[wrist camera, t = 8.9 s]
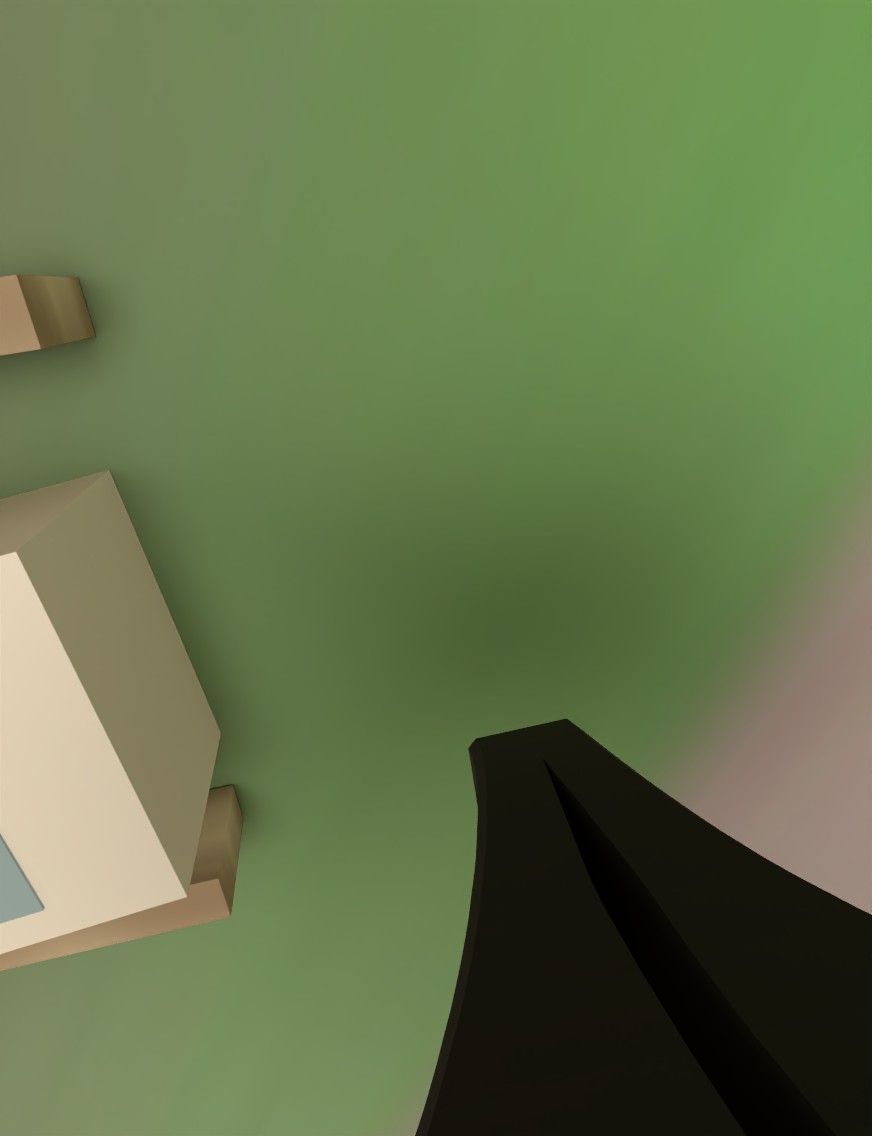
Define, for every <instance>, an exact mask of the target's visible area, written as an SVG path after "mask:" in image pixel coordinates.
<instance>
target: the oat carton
mask: <svg viewBox="0 0 872 1136" xmlns="http://www.w3.org/2000/svg"><path fill="white" fill-rule="evenodd" d="M220 736H221V732H220V730H219V727H218V725H217V723H216V720H215V718H214V716H213V713H212V711H211V709H210V706H209V704H208V701H207V699H206V697H205V694H204V692H203V690H202V687H201V685H200V683H199V680H198V678H197V676H196V673H195V671H194V669H193V666H192V664H191V662H190V659H189V657H188V654H187V652H186V650H185V647H184V645H183V643H182V640H181V638H180V636H179V633H178V631H177V629H176V626H175V624H174V622H173V619H172V617H171V615H170V612H169V610H168V607H167V605H166V603H165V600H164V598H163V596H162V593H161V591H160V589H159V586H158V584H157V582H156V579H155V577H154V575H153V572H152V570H151V568H150V565H149V563H148V560H147V558H146V556H145V553H144V551H143V549H142V546H141V544H140V542H139V539H138V537H137V535H136V532H135V530H134V528H133V525H132V523H131V521H130V518H129V516H128V513H127V511H126V509H125V506H124V504H123V502H122V499H121V497H120V495H119V492H118V490H117V488H116V485H115V483H114V481H113V478H112V476H111V473H110V471H109V470H106V471H102V472H98V473H95V474H91V475H87V476H84V477H80V478H76V479H73V480H69V481H65V482H62V483H58V484H54V485H51V486H47V487H43V488H39V489H36V490H32V491H28V492H25V493H21V494H17V495H14V496H10V497H6V498H3V499H0V954H3V953H6V952H9V951H12V950H16V949H19V948H22V947H25V946H29V945H32V944H35V943H38V942H42V941H45V940H48V939H52V938H55V937H58V936H61V935H65V934H68V933H71V932H74V931H78V930H81V929H84V928H87V927H91V926H94V925H97V924H100V923H104V922H107V921H110V920H113V919H117V918H120V917H123V916H126V915H130V914H133V913H136V912H140V911H143V910H146V909H149V908H153V907H156V906H159V905H162V904H166V903H169V902H172V901H175V900H179V899H182V898H185V897H187V896H188V891H189V886H190V882H191V877H192V872H193V867H194V862H195V857H196V852H197V848H198V843H199V838H200V833H201V828H202V823H203V818H204V814H205V809H206V804H207V799H208V794H209V789H210V784H211V780H212V775H213V770H214V765H215V760H216V755H217V750H218V746H219V741H220Z"/></svg>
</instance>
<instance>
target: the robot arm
mask: <svg viewBox="0 0 872 1136" xmlns="http://www.w3.org/2000/svg"><path fill="white" fill-rule="evenodd" d="M469 754H470V760H471V766H472V773H473V779H474V786H475V792H476V798H477V805H478V825H477V849H476V863H475V872H474V880H473V888H472V896H471V904H470V912H469V919H468V926H467V932H466V938H465V943H464V949H463V954H462V960H461V965H460V970H459V974H458V979H457V984H456V988H455V993H454V998H453V1002H452V1007H451V1011H450V1015H449V1018H448V1022H447V1026H446V1030H445V1034H444V1038H443V1042H442V1046H441V1050H440V1054H439V1058H438V1062H437V1066H436V1069H435V1073H434V1076H433V1080H432V1083H431V1087H430V1090H429V1094H428V1097H427V1101H426V1104H425V1107H424V1111H423V1114H422V1117H421V1120H420V1123H419V1126H418V1129H417V1132H416V1135H415V1136H872V915H871V914H869V913H867V912H865V911H863V910H861V909H859V908H857V907H855V906H853V905H851V904H849V903H847V902H845V901H843V900H841V899H839V898H837V897H836V896H834V895H832V894H830V893H828V892H826V891H824V890H822V889H820V888H818V887H817V886H815V885H813V884H811V883H809V882H807V881H805V880H803V879H801V878H800V877H798V876H796V875H794V874H792V873H790V872H788V871H787V870H785V869H783V868H781V867H780V866H778V865H776V864H774V863H773V862H771V861H769V860H767V859H766V858H764V857H762V856H761V855H759V854H757V853H756V852H754V851H752V850H751V849H749V848H748V847H746V846H744V845H743V844H741V843H740V842H738V841H736V840H735V839H733V838H731V837H730V836H728V835H727V834H725V833H723V832H722V831H720V830H719V829H717V828H716V827H714V826H713V825H711V824H710V823H708V822H707V821H705V820H704V819H702V818H701V817H699V816H698V815H696V814H695V813H693V812H692V811H690V810H689V809H688V808H686V807H685V806H683V805H682V804H680V803H679V802H677V801H676V800H675V799H673V798H672V797H670V796H669V795H667V794H666V793H665V792H663V791H662V790H660V789H659V788H657V787H656V786H655V785H653V784H652V783H651V782H649V781H648V780H646V779H645V778H644V777H642V776H641V775H640V774H638V773H637V772H636V771H634V770H633V769H632V768H630V767H629V766H628V765H626V764H625V763H624V762H622V761H621V760H620V759H619V758H617V757H616V756H615V755H613V754H612V753H611V752H609V751H608V750H607V749H606V748H604V747H603V746H602V745H600V744H599V743H598V742H597V741H595V740H594V739H593V738H592V737H590V736H589V735H588V734H586V733H585V732H584V731H583V730H581V729H580V728H579V727H577V726H576V725H575V724H573V723H572V722H570V721H569V720H568V719H563V720H558V721H554V722H549V723H545V724H540V725H536V726H531V727H527V728H522V729H518V730H513V731H509V732H504V733H500V734H495V735H490V736H486V737H481V738H477V739H475V741H474V742H473V743H472V744H471V746H470V747H469Z"/></svg>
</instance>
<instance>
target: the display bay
mask: <svg viewBox="0 0 872 1136" xmlns="http://www.w3.org/2000/svg"><path fill="white" fill-rule="evenodd" d="M92 337H96V336H95V332H94V329H93V326H92V323H91V319H90V316H89V313H88V309H87V306H86V303H85V300H84V296H83V293H82V290H81V287H80V283H79V280H78V278H77V277H55V276H32V275H11V276H5V277H0V355H7V354H13V353H19V352H26V351H32V350H38V349H43V348H48V347H52V346H57V345H61V344H66V343H70V342H74V341H79V340H83V339H88V338H92ZM242 825H243V817H242V814H241V810H240V807H239V804H238V800H237V797H236V794H235V791H234V787H233V785H230V786H226V787H221V788H216V789H212V790H209V794H208V799H207V804H206V809H205V814H204V818H203V823H202V828H201V833H200V838H199V843H198V848H197V852H196V857H195V862H194V867H193V872H192V877H191V882H190V886H189V891H188V896H187V897H185V898H182V899H179V900H175V901H172V902H169V903H166V904H162V905H159V906H156V907H153V908H149V909H146V910H143V911H140V912H136V913H133V914H130V915H126V916H123V917H120V918H117V919H113V920H110V921H107V922H104V923H100V924H97V925H94V926H91V927H87V928H84V929H81V930H78V931H74V932H71V933H68V934H65V935H61V936H58V937H55V938H52V939H48V940H45V941H42V942H38V943H35V944H32V945H29V946H25V947H22V948H19V949H16V950H12V951H9V952H6V953H3V954H0V971H2V970H6V969H10V968H14V967H19V966H23V965H27V964H31V963H36V962H40V961H44V960H48V959H53V958H57V957H61V956H65V955H70V954H74V953H78V952H83V951H87V950H91V949H95V948H100V947H104V946H108V945H112V944H117V943H121V942H125V941H129V940H134V939H138V938H142V937H146V936H151V935H155V934H159V933H163V932H168V931H172V930H176V929H180V928H185V927H189V926H193V925H198V924H202V923H206V922H210V921H215V920H219V919H223V918H227V917H231V911H232V904H233V896H234V888H235V880H236V872H237V864H238V856H239V848H240V841H241V833H242Z"/></svg>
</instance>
